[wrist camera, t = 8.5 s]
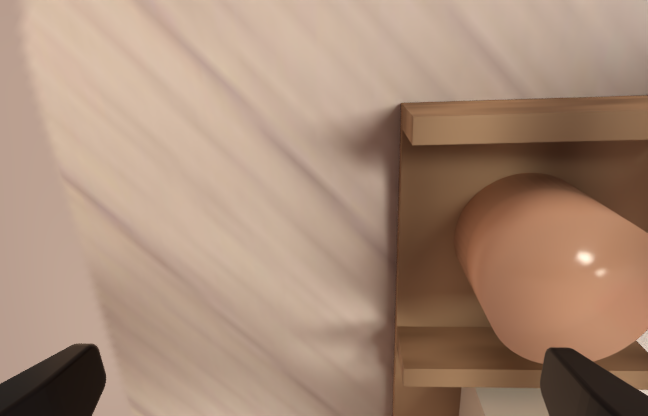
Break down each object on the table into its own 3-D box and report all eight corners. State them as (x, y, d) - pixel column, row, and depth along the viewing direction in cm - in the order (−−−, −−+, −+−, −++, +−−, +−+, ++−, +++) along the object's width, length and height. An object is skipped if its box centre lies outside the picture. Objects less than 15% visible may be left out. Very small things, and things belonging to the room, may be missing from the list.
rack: (669, 94, 17) (750, 107, 14) (572, 482, 26) (608, 552, 22) (401, 102, 18) (413, 116, 15) (390, 477, 26) (397, 544, 23)
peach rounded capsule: (602, 170, 18) (691, 214, 13) (577, 292, 20) (646, 366, 15) (459, 174, 18) (496, 217, 14) (449, 292, 20) (479, 365, 16)
